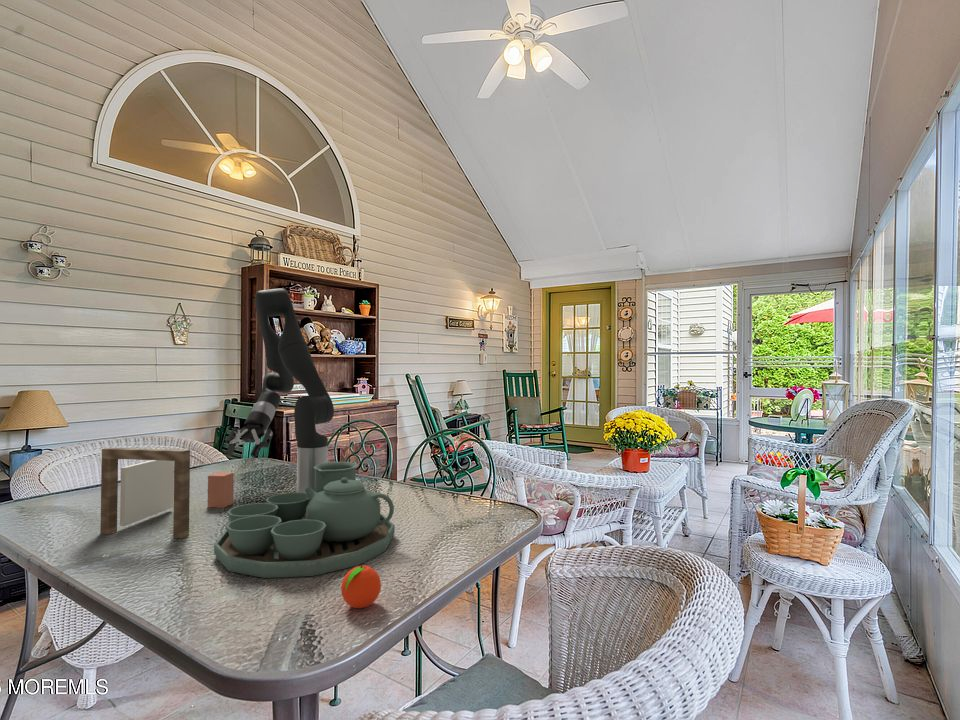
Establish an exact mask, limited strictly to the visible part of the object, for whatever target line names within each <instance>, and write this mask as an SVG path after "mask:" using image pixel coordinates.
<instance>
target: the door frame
mask: <svg viewBox="0 0 960 720" xmlns="http://www.w3.org/2000/svg"><path fill="white" fill-rule="evenodd" d="M119 460H136V461H140V460H141V461H151V460H164V461H174V494H173V519H172V520H173V522H172V523H173V527H172V529H173V530H172V531H173V532H172V533H173V534H172V537H173V538H172V539H184V538H186V537H188V536H189V535H190V493H191V492H190V491H191V489H190V486H191V484H190V482H191V481H190V480H191V479H190V478H191V477H190V476H191V449H181V448H180V449H175V448H171V449H170V448H141V447H139V448H137V447H112V446H111V447H106V448H102V449H101V465H100V466H101V469H100V470H101V472H100V474H101V477H100V479H101V480H100V483H101V484H100V533H99V534H100V535H108V534H109V535H112V534H114V533H117V532H118V502H119V501H118V497H119V495H118V494H119V493H118V491H119V489H118V488H119V487H118V486H119ZM116 531H117V532H116ZM113 532H114V533H113ZM111 533H112V534H111Z"/></svg>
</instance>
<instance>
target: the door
mask: <svg viewBox="0 0 960 720" xmlns="http://www.w3.org/2000/svg"><path fill="white" fill-rule="evenodd" d="M119 502H120V503H119V506H120V507H119V509H120V510H119V511H120V512H119V515H120V516H119V526H120V527H126V526H128V525H132V524H133V523H137V522H138V521H141V520H144V519H147V518H149V517H152V516H155V515H158V514H159V513H162V512H165V511H168V510H170V509H174V461H164V460H146V461H143V462H140V463H136V464H131V465H128V466H122V467H120V501H119Z"/></svg>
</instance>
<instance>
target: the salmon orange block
mask: <svg viewBox="0 0 960 720" xmlns="http://www.w3.org/2000/svg"><path fill="white" fill-rule="evenodd" d="M234 475H235V474H234V472H226V471H225V472H224V471H222V472H221V471H218V472H215V473H212V474H209V475H207V508H211V507H217V508H218V509H223V508H226V507H229V506H231V505H233V504H234V482H235V481H234V478H235V476H234ZM228 505H229V506H228ZM217 508H216V509H217Z"/></svg>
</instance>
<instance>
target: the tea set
mask: <svg viewBox="0 0 960 720" xmlns="http://www.w3.org/2000/svg"><path fill="white" fill-rule="evenodd" d="M358 467H359V464H358V463H356V462H350V461H330V462H328V463H322V464H318V465H316V466H314V467H313V468H314V469H315V470H316V482H315V492H314V491H313V490H312V489H311V488H310V487H309V486H308V487H307V488H306V489H305V491H306V493H297V492H285V493H278V494H274V495H272V496H269V497H267V498H266V500H265V502H257V503H256V502H255V503H248V504H241V505H238V506H236V507H233V508H229V510H228V511H227V512H226V514H227V515H228V518H229V521H230V522H228V523H227V525H226V526H225V528H226V530H224V531H223V533H222V534H221V535H220V537H219V538H218V539H217V540H216V542H215V543H214V544H213V553H214V555H215V558H216V559H217V560H218V561H219V562H220V563H221V565H222V566H224V567H225V569H227V571H228V572H232V573H238V574H242V575H247V576H253V577H257V578H258V577H259V578H263V579H273V578H292V577H293V578H294V577H295V578H296V577H313V576H314V577H315V576H318V575H322V574H326V573H331V572H335V571H340V570H344V569H349V568H354V567H357V566H360V565H361V564H363V563H365V562H368V561H369V560H371V559H373V558H375V557H376V556H379V555H381V554H383V553H384V552H386V551H387V549H388V548H389V547H388V546H389V545H390V542H391V541H392V538H393V536H394V534H395V524H394V523H393V522H392V521H390V520H391V519H392V518H393V515H394V511H395V506H394V503H393V500H392V498H391V497H389V495H387V494H385V493H380V492H378V493H375V494H374V493H373V492H372V491H370V490H369V489H366V488H365V483H364V482H362V481H360V480H356V479H357V478H356V477H357V476H356V473H357V472H356V469H357V468H358ZM379 499H382V500H384V501H385V502H386V503H387V504H388V507H389V512H388V514H387V516H385V515H384V514H383V513H381V503H380V500H379Z"/></svg>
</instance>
